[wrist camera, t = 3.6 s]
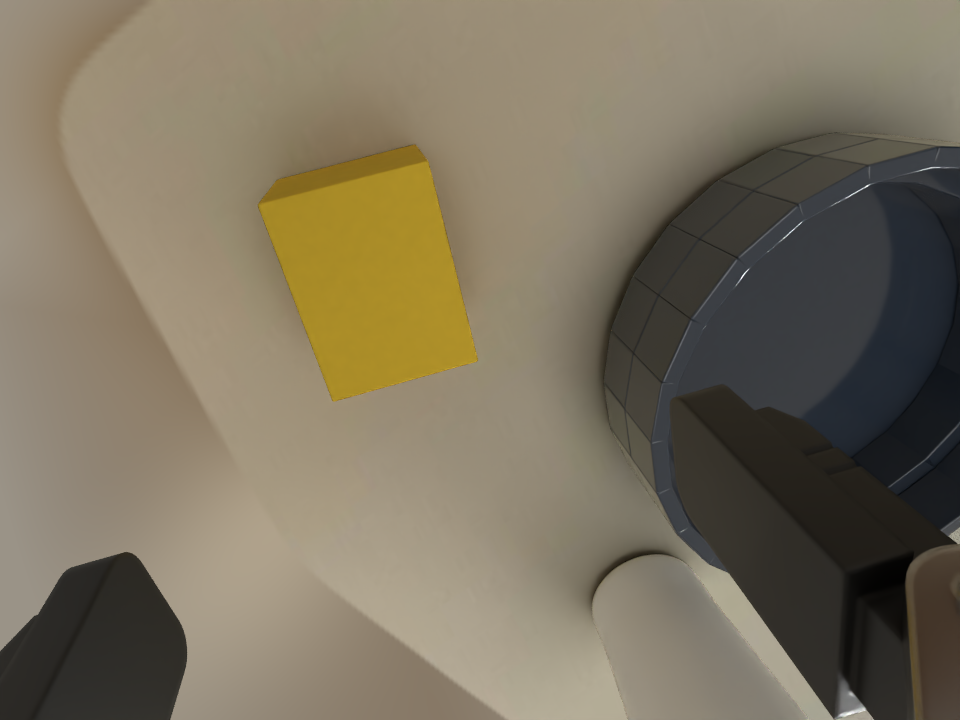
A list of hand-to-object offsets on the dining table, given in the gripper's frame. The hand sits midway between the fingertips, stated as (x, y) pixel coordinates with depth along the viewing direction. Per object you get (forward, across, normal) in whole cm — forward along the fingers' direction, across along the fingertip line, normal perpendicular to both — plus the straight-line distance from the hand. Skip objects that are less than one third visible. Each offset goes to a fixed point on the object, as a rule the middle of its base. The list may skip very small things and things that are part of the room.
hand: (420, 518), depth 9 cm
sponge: (+13, 0, 0) cm, 13 cm away
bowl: (+13, -15, +8) cm, 21 cm away
